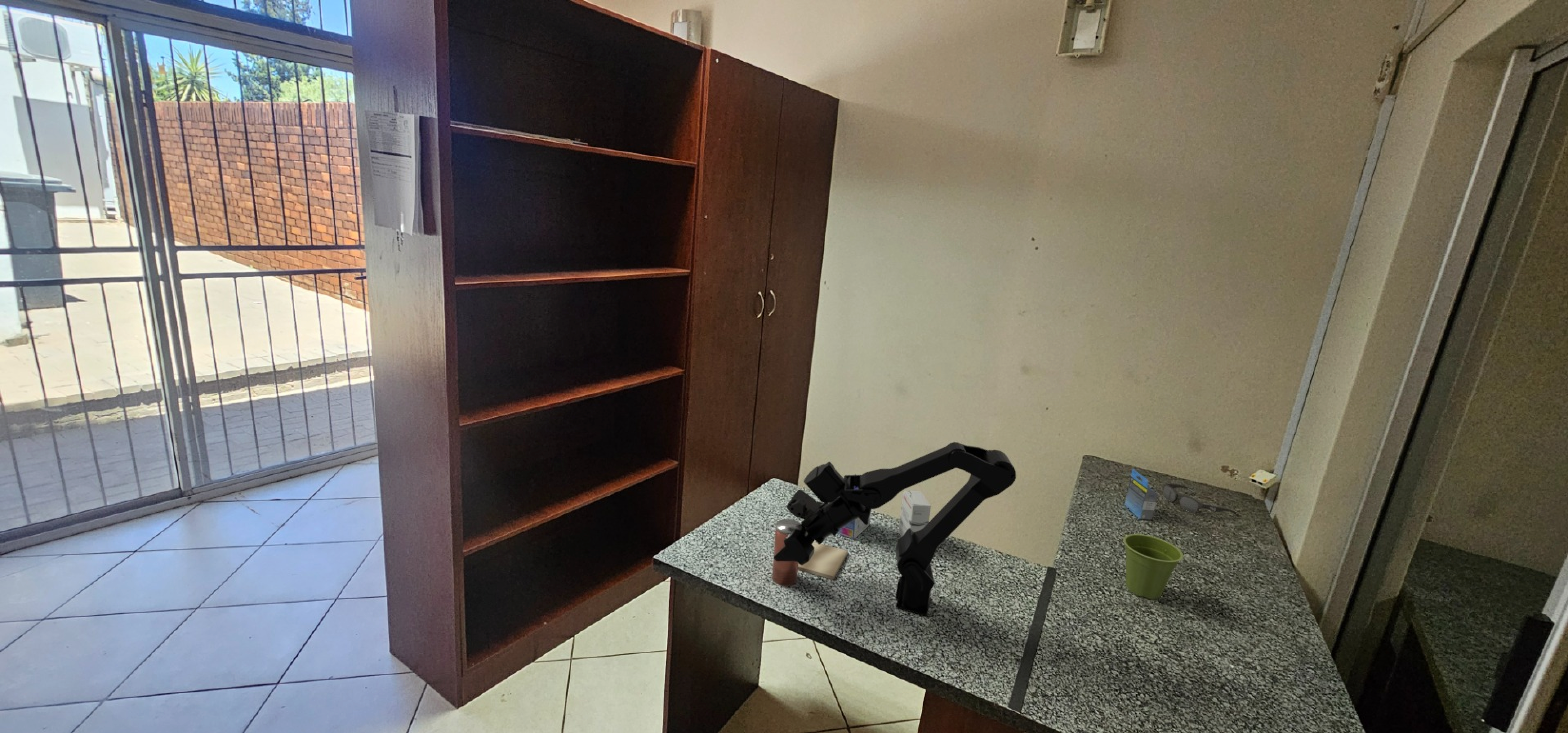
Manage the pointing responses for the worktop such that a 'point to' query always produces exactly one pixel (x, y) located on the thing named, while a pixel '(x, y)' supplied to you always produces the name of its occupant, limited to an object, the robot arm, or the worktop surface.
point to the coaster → (824, 561)
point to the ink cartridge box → (854, 527)
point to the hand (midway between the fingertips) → (782, 548)
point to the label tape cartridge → (1140, 497)
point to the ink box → (913, 512)
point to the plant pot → (1149, 564)
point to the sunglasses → (1188, 499)
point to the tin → (782, 570)
